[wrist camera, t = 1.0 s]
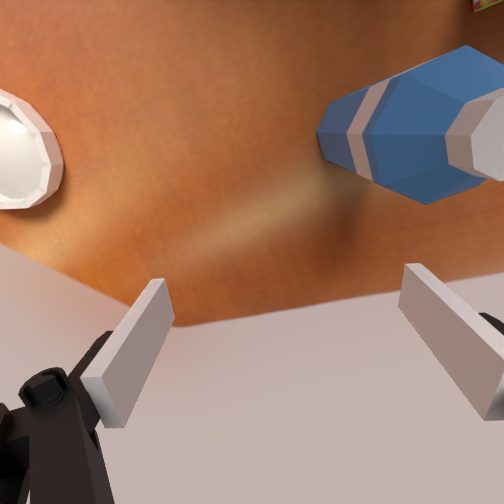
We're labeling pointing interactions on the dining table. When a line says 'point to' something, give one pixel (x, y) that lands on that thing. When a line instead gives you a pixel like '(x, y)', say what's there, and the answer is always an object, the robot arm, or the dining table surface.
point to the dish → (26, 155)
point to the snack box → (483, 4)
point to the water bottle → (423, 127)
